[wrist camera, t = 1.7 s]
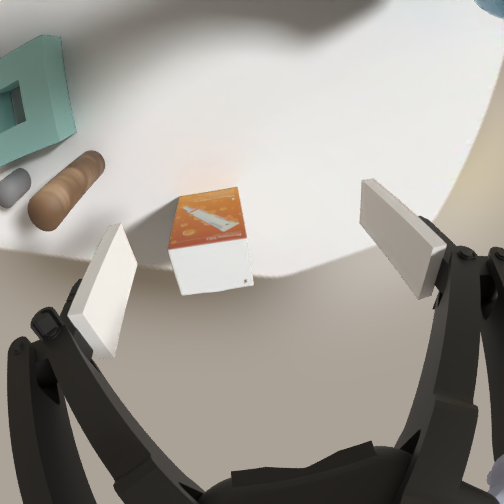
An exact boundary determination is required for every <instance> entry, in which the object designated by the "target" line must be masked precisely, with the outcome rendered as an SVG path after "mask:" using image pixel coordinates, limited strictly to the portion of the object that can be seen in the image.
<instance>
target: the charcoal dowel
mask: <svg viewBox="0 0 504 504" xmlns="http://www.w3.org/2000/svg"><path fill="white" fill-rule="evenodd" d="M30 186H31V179H30V176H29V174H28V172H27V171H26V170H24V169H22V168H18V169H16V170H15V171H13V172H12V173H11V174H9V175H8V176H7V177H5V178H4V179H3V180H1V181H0V205H1V206H2V207H4V208H9V207H11V206H12V205H13V204H14V203H15V202H16V201H17V200H18V199H19V198H21V197H22V196H23V195H24V194H25V193H26V192H27V191H28V190H29V189H30Z"/></svg>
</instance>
